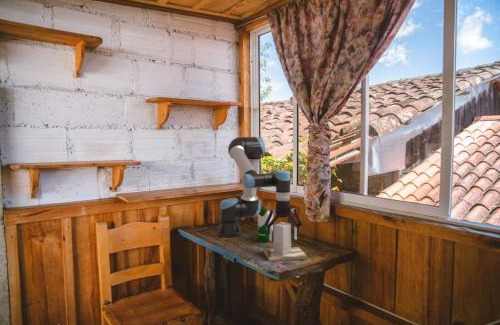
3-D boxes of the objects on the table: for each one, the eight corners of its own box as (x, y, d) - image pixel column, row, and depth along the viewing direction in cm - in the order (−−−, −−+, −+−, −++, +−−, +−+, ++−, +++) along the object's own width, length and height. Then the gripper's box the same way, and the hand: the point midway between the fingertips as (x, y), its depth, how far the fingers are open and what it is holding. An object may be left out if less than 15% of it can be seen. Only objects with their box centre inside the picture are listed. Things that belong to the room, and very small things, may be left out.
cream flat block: (262, 251, 200) (262, 242, 200) (298, 249, 203) (298, 240, 202) (267, 260, 184) (267, 251, 184) (307, 258, 187) (307, 249, 187)
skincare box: (282, 249, 198) (282, 221, 197) (292, 252, 193) (292, 223, 192) (272, 253, 191) (272, 224, 190) (283, 256, 187) (283, 226, 186)
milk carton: (255, 241, 221) (255, 208, 220) (263, 237, 229) (263, 206, 228) (268, 243, 216) (267, 210, 215) (275, 239, 224) (275, 207, 223)
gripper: (260, 201, 185) (261, 242, 187) (307, 200, 189) (307, 240, 190) (258, 199, 193) (258, 238, 194) (303, 198, 196) (303, 236, 197)
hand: (283, 239), depth 192 cm, fingers open, 13 cm apart
